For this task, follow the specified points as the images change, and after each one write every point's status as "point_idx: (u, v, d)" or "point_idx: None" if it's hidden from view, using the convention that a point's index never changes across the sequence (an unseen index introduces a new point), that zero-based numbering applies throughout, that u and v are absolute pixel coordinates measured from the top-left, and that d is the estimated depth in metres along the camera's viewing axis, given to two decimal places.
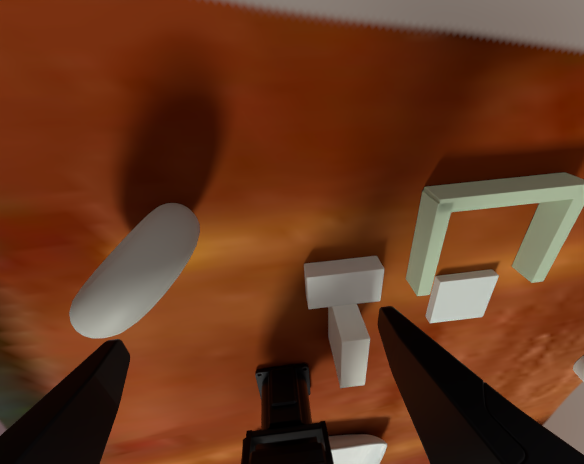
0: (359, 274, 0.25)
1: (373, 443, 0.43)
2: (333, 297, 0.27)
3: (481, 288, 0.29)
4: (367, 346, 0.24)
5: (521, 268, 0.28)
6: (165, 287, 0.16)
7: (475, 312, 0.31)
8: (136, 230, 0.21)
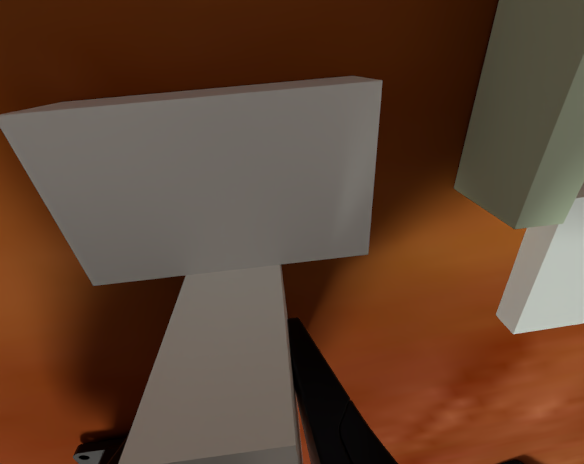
0: (264, 113, 0.05)
1: None
2: (178, 237, 0.07)
3: None
4: None
5: None
6: None
7: None
8: None
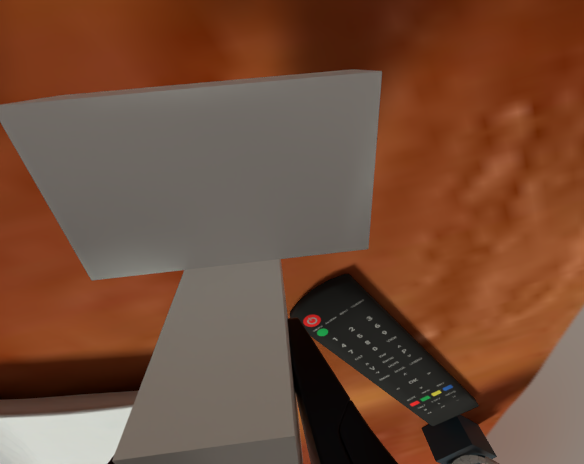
0: (262, 104, 0.05)
1: None
2: (177, 230, 0.07)
3: None
4: None
5: None
6: None
7: None
8: None
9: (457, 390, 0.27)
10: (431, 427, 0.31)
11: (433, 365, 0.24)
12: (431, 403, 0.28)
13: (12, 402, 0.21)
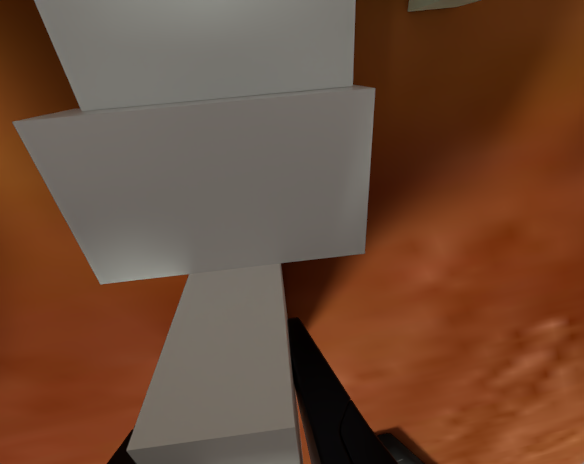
0: (264, 118, 0.06)
1: None
2: (183, 236, 0.07)
3: None
4: (289, 460, 0.05)
5: None
6: None
7: (305, 42, 0.06)
8: None
9: None
10: None
11: None
12: None
13: None
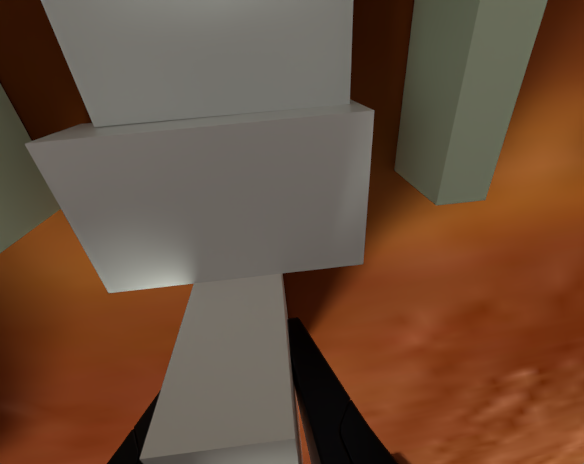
0: (267, 139, 0.06)
1: None
2: (188, 249, 0.07)
3: None
4: None
5: (410, 164, 0.08)
6: None
7: (305, 65, 0.06)
8: None
9: None
10: None
11: None
12: None
13: None
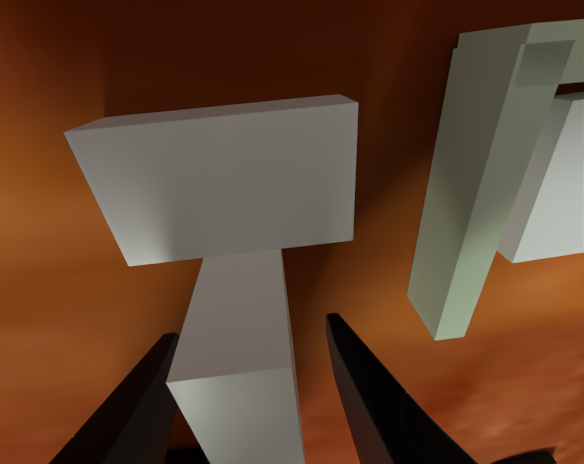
0: (267, 128, 0.07)
1: None
2: (199, 225, 0.08)
3: None
4: (288, 396, 0.06)
5: None
6: None
7: None
8: None
9: None
10: None
11: None
12: None
13: None
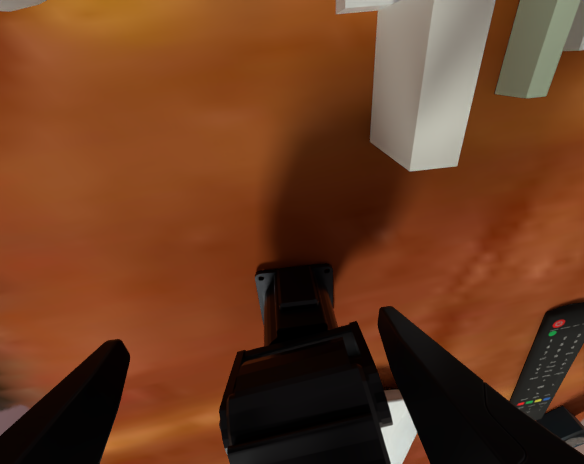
0: None
1: None
2: None
3: None
4: (488, 14, 0.11)
5: None
6: None
7: None
8: None
9: (547, 402, 0.39)
10: (543, 418, 0.42)
11: (561, 380, 0.36)
12: (526, 407, 0.39)
13: None
